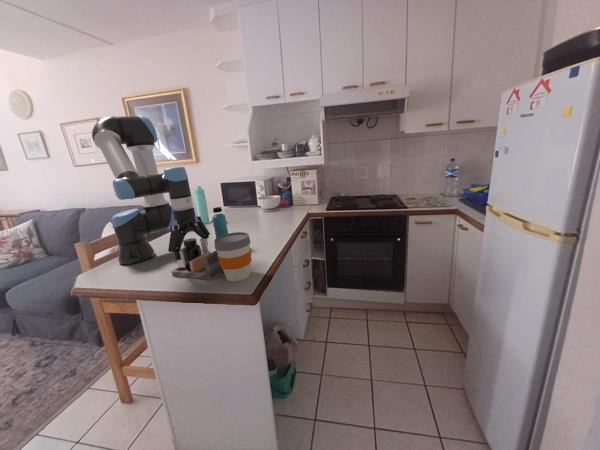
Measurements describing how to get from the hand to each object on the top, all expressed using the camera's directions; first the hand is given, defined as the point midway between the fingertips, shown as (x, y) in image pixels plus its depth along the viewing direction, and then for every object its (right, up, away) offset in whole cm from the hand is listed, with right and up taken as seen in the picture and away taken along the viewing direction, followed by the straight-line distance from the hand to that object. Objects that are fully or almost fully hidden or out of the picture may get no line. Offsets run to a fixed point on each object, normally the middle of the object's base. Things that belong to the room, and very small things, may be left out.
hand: (194, 259), depth 107 cm
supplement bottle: (0, -4, +2) cm, 4 cm away
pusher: (+3, -3, 0) cm, 5 cm away
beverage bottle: (+4, +3, +26) cm, 27 cm away
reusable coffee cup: (+20, -5, -8) cm, 22 cm away
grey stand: (+4, -4, 0) cm, 5 cm away
